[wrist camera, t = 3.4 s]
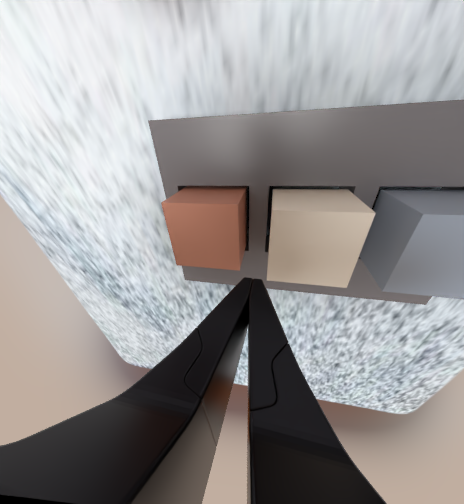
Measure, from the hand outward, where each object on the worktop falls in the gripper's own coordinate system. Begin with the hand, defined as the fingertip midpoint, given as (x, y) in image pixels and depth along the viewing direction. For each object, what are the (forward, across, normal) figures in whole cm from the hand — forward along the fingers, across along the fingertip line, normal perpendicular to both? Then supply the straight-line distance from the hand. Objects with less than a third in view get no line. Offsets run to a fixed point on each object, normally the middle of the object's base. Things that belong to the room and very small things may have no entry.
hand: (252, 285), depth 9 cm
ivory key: (+8, -3, 0) cm, 9 cm away
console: (+11, -3, 0) cm, 11 cm away
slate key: (+8, -10, 0) cm, 13 cm away
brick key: (+9, +4, 0) cm, 10 cm away
